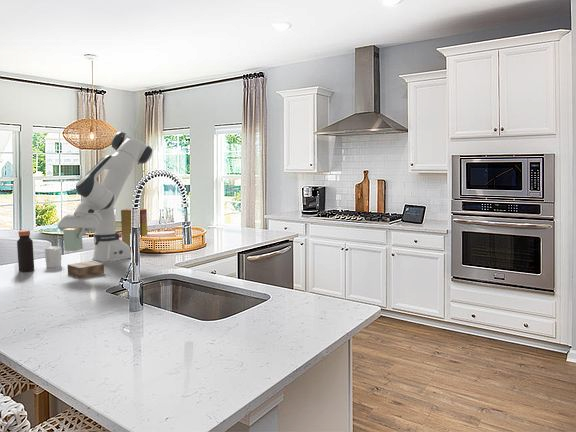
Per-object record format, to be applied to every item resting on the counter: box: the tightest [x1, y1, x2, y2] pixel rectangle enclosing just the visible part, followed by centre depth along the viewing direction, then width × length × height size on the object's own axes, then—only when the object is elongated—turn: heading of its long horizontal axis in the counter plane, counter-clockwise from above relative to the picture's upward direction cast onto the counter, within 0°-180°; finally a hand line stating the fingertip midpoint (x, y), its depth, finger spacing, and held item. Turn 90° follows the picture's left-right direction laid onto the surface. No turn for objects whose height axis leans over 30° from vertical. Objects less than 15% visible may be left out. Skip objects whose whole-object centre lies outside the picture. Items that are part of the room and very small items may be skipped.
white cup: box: [43, 245, 62, 269], centre depth 243 cm, size 8×8×10 cm
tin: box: [62, 228, 84, 252], centre depth 222 cm, size 6×6×10 cm
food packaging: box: [120, 208, 148, 251], centre depth 294 cm, size 13×9×25 cm
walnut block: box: [67, 260, 105, 279], centre depth 226 cm, size 12×12×5 cm
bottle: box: [16, 229, 35, 273], centre depth 233 cm, size 7×7×20 cm
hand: (72, 237), depth 222 cm, fingers closed on tin, 6 cm apart
